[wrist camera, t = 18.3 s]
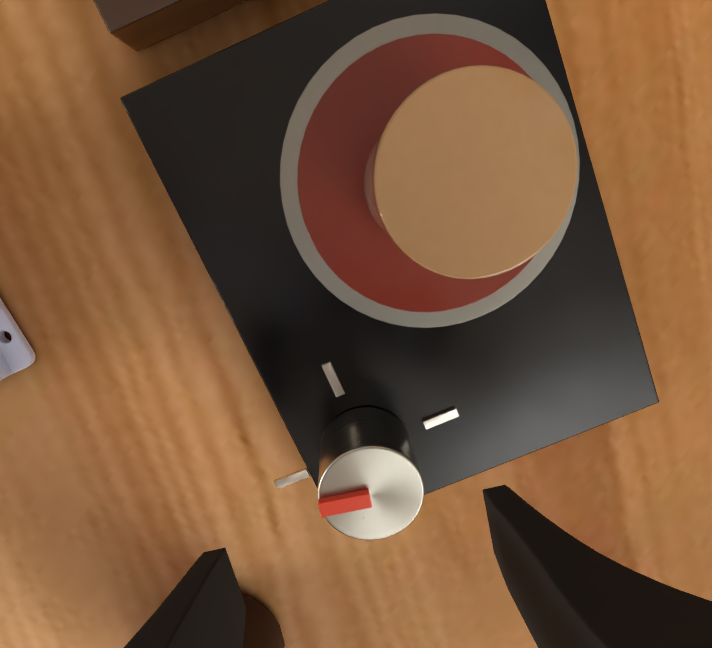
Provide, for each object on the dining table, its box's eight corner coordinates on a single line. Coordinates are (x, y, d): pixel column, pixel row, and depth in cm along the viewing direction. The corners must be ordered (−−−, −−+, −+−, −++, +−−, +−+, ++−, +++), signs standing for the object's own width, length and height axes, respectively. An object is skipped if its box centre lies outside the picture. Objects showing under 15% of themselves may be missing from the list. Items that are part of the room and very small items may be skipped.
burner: (611, 260, 19) (615, 261, 18) (351, 368, 19) (351, 370, 19) (524, -41, 16) (528, -45, 16) (227, 95, 17) (225, 93, 16)
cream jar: (518, 219, 18) (603, 232, 12) (392, 273, 18) (417, 310, 12) (473, 82, 17) (543, 27, 11) (338, 142, 17) (340, 117, 11)
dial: (402, 398, 20) (416, 440, 16) (417, 478, 20) (434, 535, 17) (311, 416, 20) (306, 463, 16) (330, 496, 21) (330, 556, 17)
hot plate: (624, 392, 23) (668, 423, 20) (318, 514, 24) (315, 561, 21) (491, -46, 19) (523, -93, 16) (118, 126, 20) (78, 114, 16)
